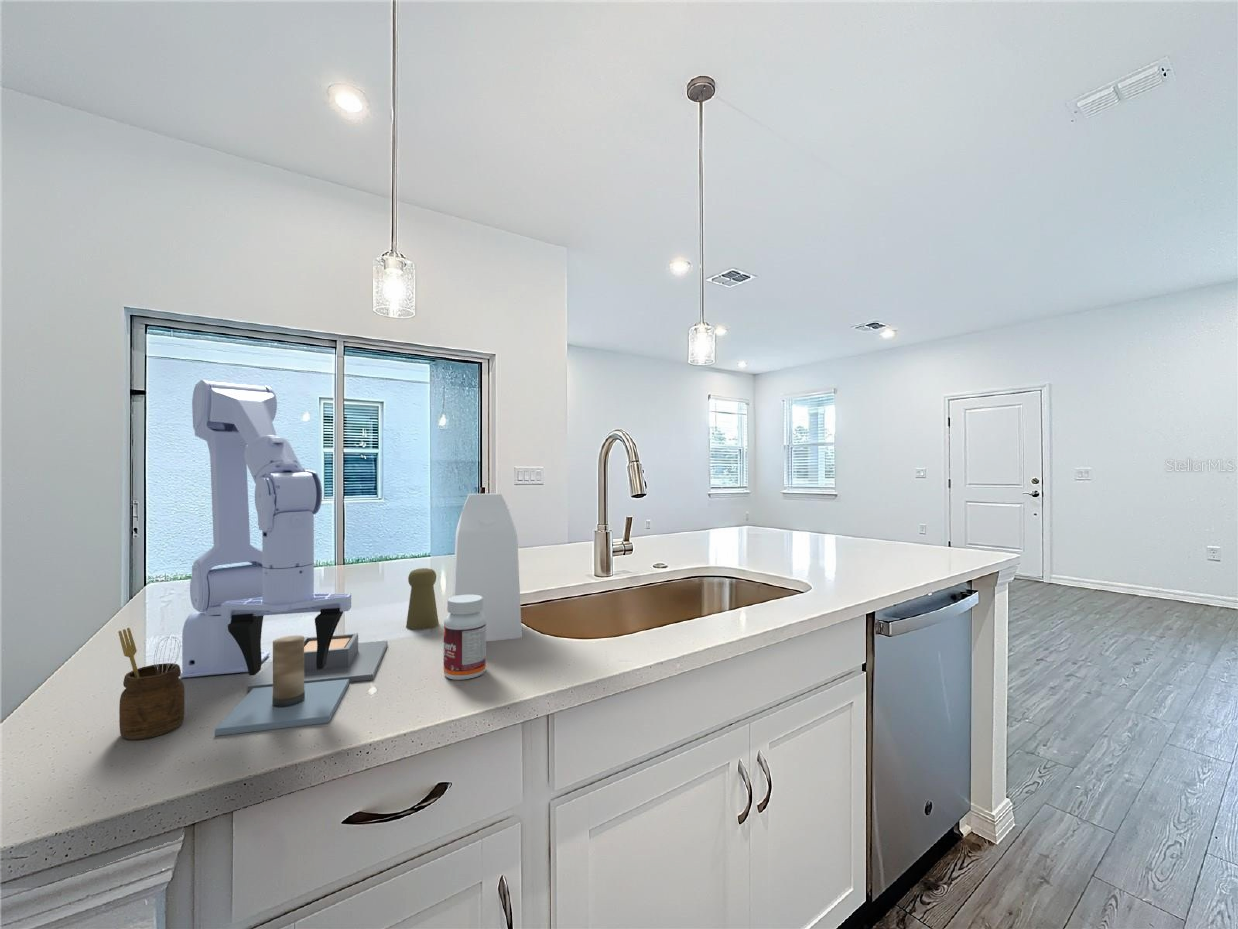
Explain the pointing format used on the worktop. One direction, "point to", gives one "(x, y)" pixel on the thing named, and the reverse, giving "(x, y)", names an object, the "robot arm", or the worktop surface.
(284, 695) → the rounded tan cylinder
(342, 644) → the button
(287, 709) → the rubber mat
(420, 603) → the cork
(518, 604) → the milk
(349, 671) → the breaker housing
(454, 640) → the pill bottle
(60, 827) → the worktop surface
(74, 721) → the worktop surface
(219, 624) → the robot arm
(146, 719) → the utensil holder
